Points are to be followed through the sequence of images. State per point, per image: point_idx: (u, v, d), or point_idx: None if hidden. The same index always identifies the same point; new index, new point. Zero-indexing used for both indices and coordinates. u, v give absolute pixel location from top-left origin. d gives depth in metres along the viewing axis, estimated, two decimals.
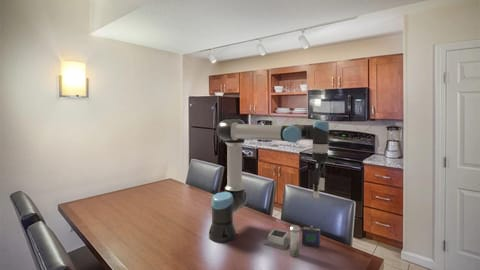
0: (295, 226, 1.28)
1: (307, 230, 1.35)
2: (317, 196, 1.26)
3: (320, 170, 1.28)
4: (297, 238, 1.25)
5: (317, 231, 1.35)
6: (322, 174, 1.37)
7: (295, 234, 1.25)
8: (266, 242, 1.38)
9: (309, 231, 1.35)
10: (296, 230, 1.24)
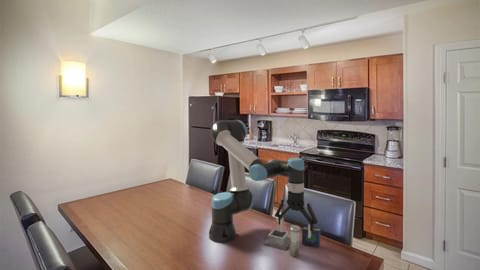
0: (295, 226, 1.28)
1: (307, 230, 1.35)
2: None
3: (287, 207, 1.26)
4: (297, 238, 1.25)
5: (317, 231, 1.35)
6: None
7: (295, 234, 1.25)
8: (266, 242, 1.38)
9: None
10: (296, 230, 1.24)
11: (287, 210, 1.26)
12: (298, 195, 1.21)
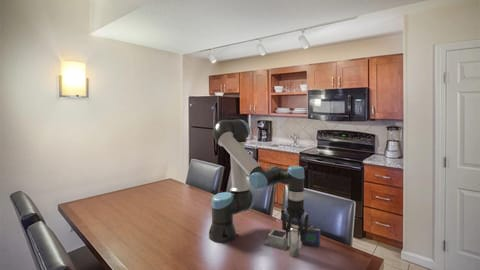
0: (295, 226, 1.28)
1: None
2: None
3: None
4: (297, 238, 1.25)
5: (317, 231, 1.35)
6: None
7: (295, 234, 1.25)
8: (266, 242, 1.38)
9: (309, 231, 1.35)
10: (296, 230, 1.24)
11: (290, 220, 1.26)
12: (298, 203, 1.22)
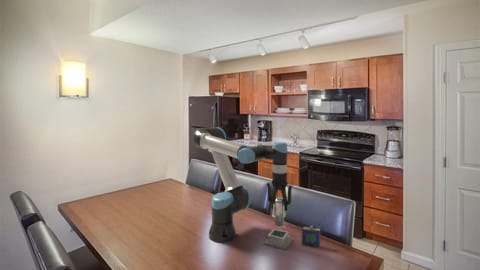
0: (280, 197, 1.39)
1: (307, 230, 1.35)
2: None
3: (271, 187, 1.38)
4: (281, 208, 1.36)
5: (317, 231, 1.35)
6: None
7: (279, 204, 1.36)
8: (266, 242, 1.38)
9: (309, 231, 1.35)
10: (280, 201, 1.35)
11: (275, 192, 1.37)
12: (281, 175, 1.33)
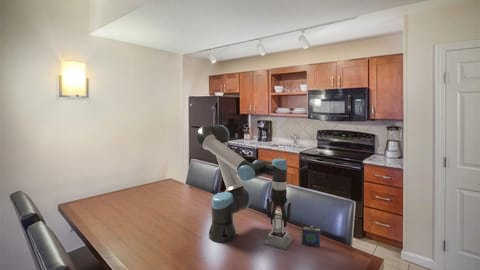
0: (279, 213, 1.40)
1: (307, 230, 1.35)
2: None
3: None
4: (281, 224, 1.37)
5: (317, 231, 1.35)
6: None
7: (279, 221, 1.37)
8: (266, 242, 1.38)
9: (309, 231, 1.35)
10: (280, 217, 1.36)
11: (274, 208, 1.38)
12: (281, 192, 1.34)
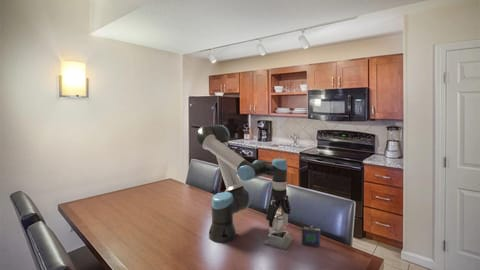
0: (276, 214, 1.39)
1: (307, 230, 1.35)
2: (272, 231, 1.34)
3: None
4: None
5: (317, 231, 1.35)
6: (285, 210, 1.42)
7: (282, 220, 1.38)
8: (266, 242, 1.38)
9: (309, 231, 1.35)
10: None
11: None
12: (286, 190, 1.37)
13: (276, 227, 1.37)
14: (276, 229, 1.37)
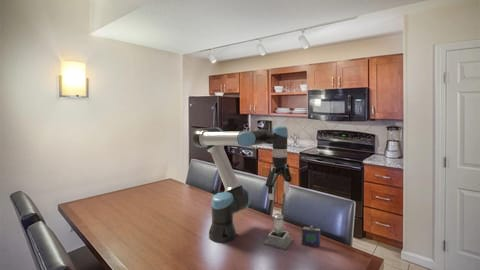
0: (276, 214, 1.39)
1: (307, 230, 1.35)
2: (271, 198, 1.32)
3: (276, 174, 1.33)
4: None
5: (317, 231, 1.35)
6: (286, 178, 1.41)
7: (282, 220, 1.38)
8: (266, 242, 1.38)
9: (309, 231, 1.35)
10: None
11: (277, 176, 1.34)
12: None
13: (276, 227, 1.37)
14: (276, 229, 1.37)
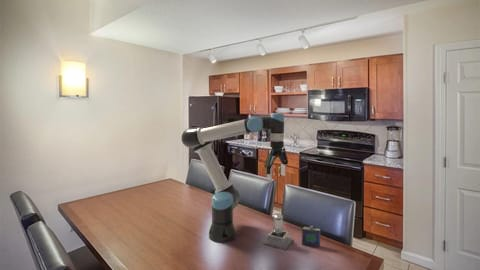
0: (276, 214, 1.39)
1: (307, 230, 1.35)
2: (270, 178, 1.45)
3: (274, 156, 1.46)
4: None
5: (317, 231, 1.35)
6: (282, 161, 1.53)
7: (282, 220, 1.38)
8: (266, 242, 1.38)
9: (309, 231, 1.35)
10: (282, 216, 1.38)
11: (274, 158, 1.46)
12: (283, 142, 1.48)
13: (276, 227, 1.37)
14: (276, 229, 1.37)
